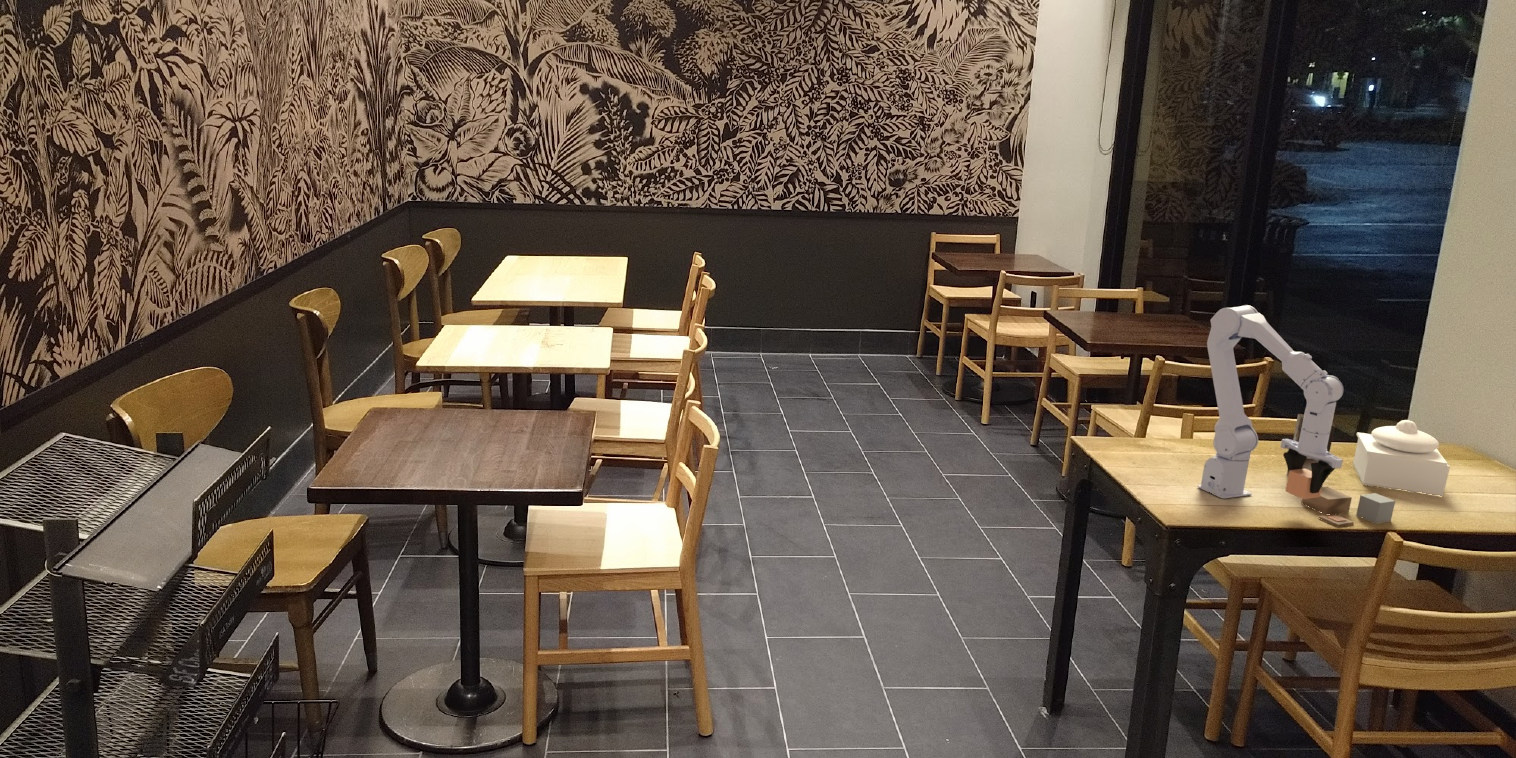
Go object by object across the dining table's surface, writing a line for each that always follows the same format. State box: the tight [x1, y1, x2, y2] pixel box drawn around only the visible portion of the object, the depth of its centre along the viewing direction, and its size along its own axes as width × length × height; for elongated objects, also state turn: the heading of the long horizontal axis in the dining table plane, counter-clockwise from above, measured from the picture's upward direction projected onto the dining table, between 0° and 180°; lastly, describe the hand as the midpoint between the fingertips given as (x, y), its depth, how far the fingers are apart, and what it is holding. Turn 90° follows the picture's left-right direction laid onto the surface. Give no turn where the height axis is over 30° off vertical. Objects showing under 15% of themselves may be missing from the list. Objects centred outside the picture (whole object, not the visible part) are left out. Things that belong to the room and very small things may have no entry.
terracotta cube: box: [1285, 469, 1323, 500], centre depth 250 cm, size 5×5×5 cm
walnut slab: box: [1301, 486, 1353, 515], centre depth 258 cm, size 7×7×4 cm
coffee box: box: [1286, 413, 1336, 476], centre depth 274 cm, size 9×6×16 cm
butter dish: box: [1352, 419, 1451, 496], centre depth 279 cm, size 18×18×16 cm
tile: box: [1318, 514, 1355, 528], centre depth 250 cm, size 5×5×1 cm
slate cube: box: [1355, 492, 1396, 524], centre depth 253 cm, size 5×5×5 cm
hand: (1303, 488), depth 250 cm, fingers closed on terracotta cube, 5 cm apart
